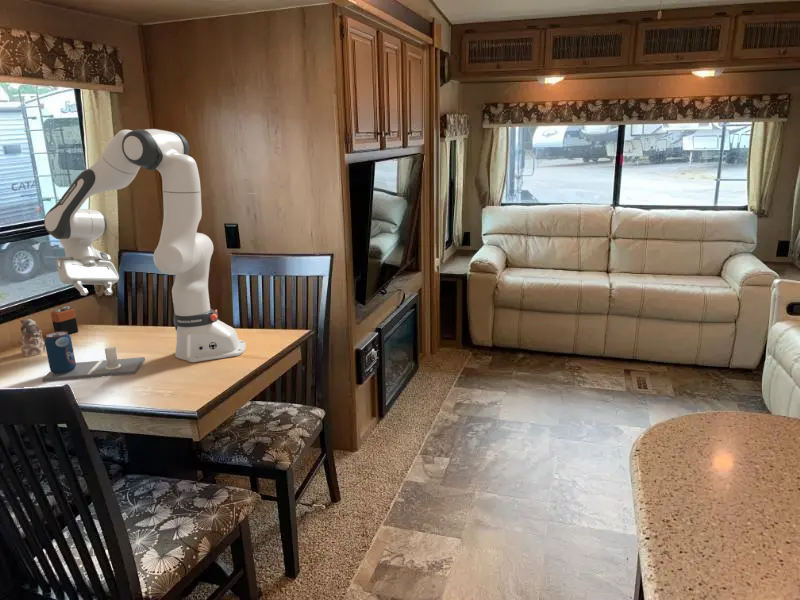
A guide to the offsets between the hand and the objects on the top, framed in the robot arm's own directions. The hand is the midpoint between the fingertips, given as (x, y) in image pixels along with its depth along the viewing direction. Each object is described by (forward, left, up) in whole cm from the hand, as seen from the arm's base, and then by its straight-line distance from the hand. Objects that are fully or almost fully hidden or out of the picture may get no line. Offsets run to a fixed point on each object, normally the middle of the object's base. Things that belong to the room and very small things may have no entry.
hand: (97, 294), depth 195 cm
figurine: (+24, -3, -20) cm, 32 cm away
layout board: (-3, +20, -20) cm, 28 cm away
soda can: (+6, +20, -19) cm, 28 cm away
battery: (+21, -23, -20) cm, 37 cm away
